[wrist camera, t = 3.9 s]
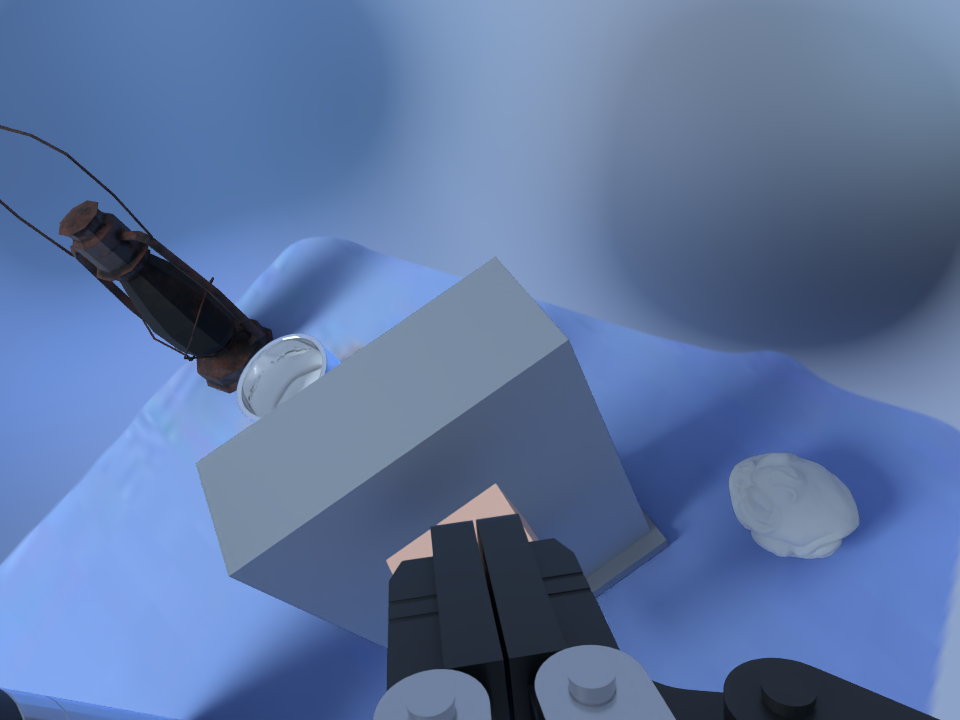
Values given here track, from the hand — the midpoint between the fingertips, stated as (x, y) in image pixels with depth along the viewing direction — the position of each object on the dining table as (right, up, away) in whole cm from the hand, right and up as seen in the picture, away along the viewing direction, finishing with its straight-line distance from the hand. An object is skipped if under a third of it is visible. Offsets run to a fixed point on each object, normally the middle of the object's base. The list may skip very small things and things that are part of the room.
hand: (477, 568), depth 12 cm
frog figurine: (+20, -7, +32) cm, 38 cm away
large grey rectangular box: (+4, -11, +36) cm, 38 cm away
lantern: (-24, +4, +58) cm, 62 cm away
